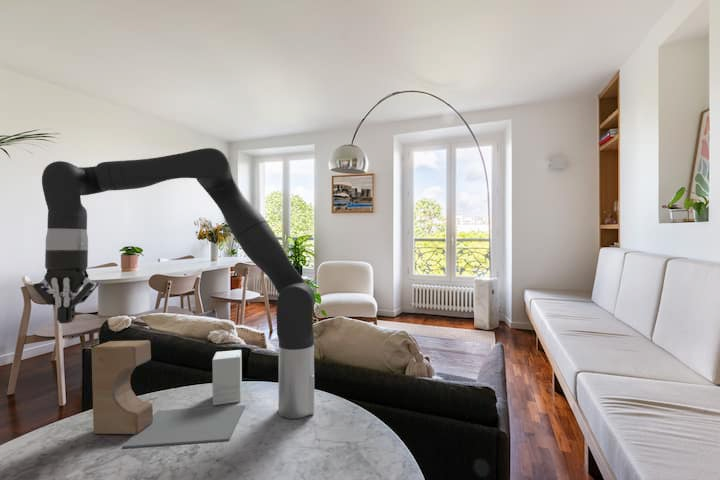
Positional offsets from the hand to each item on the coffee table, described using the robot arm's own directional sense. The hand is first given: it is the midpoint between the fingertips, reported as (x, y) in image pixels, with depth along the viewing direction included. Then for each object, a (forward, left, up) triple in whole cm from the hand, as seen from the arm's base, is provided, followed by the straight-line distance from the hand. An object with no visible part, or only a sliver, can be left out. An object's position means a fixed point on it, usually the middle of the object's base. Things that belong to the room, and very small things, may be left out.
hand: (65, 322), depth 78 cm
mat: (-28, 0, -26) cm, 38 cm away
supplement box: (-33, -14, -26) cm, 44 cm away
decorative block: (-13, 0, -26) cm, 29 cm away
